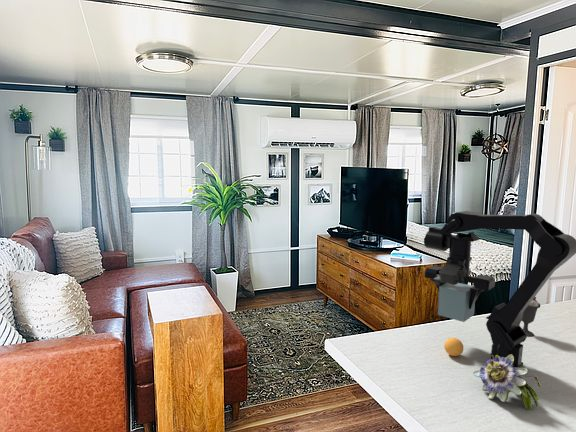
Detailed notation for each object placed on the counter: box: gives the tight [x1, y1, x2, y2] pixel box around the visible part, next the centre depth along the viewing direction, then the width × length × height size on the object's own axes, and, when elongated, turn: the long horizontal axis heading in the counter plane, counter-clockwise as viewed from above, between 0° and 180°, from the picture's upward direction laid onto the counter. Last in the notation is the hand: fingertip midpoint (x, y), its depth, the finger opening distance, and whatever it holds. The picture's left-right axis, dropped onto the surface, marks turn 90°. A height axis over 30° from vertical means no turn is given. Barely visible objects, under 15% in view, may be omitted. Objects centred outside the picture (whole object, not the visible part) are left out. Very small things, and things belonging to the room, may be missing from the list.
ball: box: [443, 337, 464, 357], centre depth 111 cm, size 5×5×5 cm
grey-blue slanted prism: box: [437, 282, 476, 323], centre depth 117 cm, size 8×8×9 cm
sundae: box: [521, 296, 541, 338], centre depth 125 cm, size 7×7×15 cm
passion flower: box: [472, 354, 542, 411], centre depth 92 cm, size 11×11×12 cm
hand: (456, 305), depth 117 cm, fingers closed on grey-blue slanted prism, 8 cm apart
